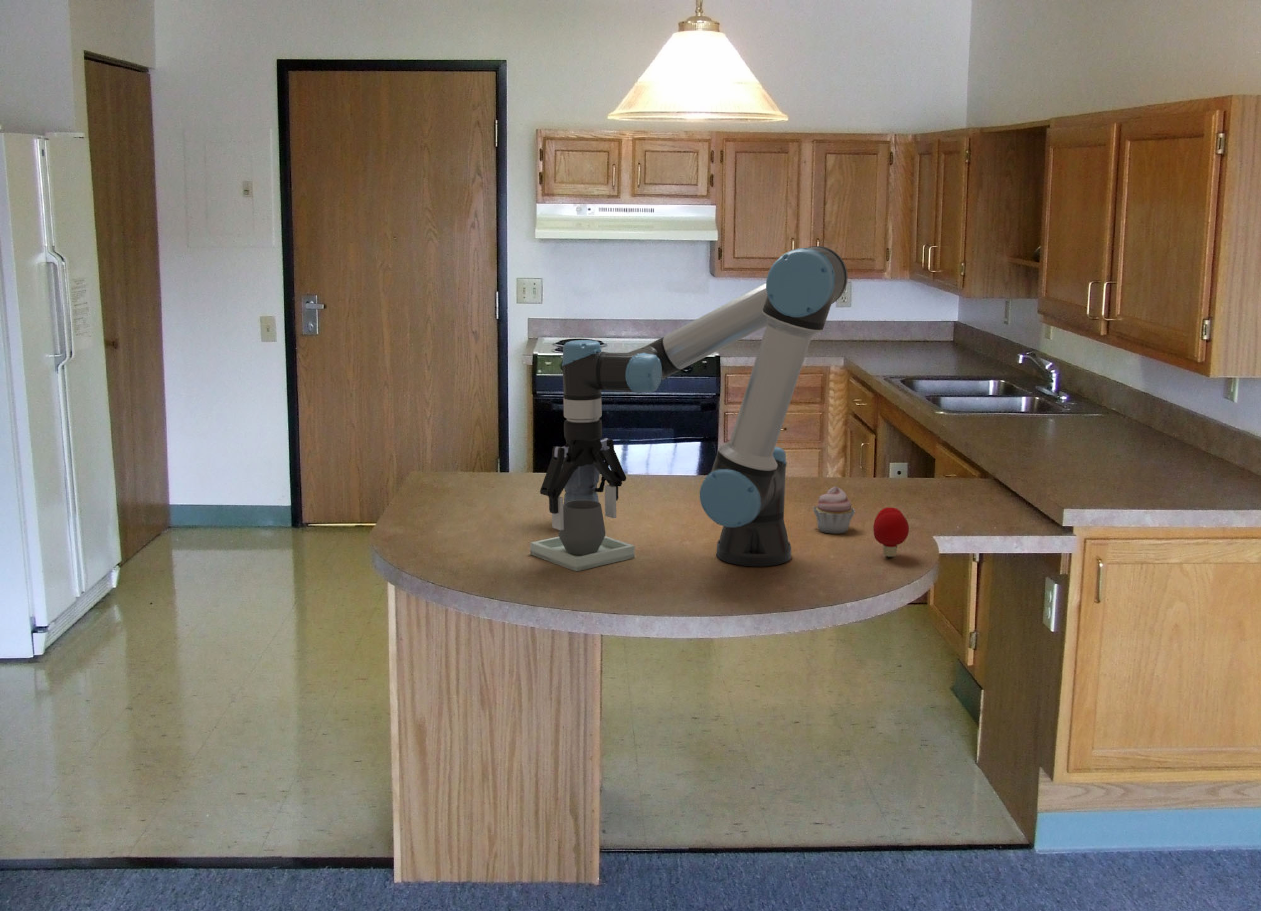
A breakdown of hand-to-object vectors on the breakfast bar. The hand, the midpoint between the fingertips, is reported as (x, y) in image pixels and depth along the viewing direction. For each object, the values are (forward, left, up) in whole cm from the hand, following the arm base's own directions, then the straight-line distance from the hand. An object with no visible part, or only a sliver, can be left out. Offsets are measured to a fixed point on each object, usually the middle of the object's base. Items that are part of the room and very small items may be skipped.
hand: (584, 522), depth 265 cm
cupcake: (-19, -55, -7) cm, 58 cm away
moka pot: (+17, -14, -7) cm, 23 cm away
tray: (0, 0, -7) cm, 7 cm away
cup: (+1, 0, -6) cm, 6 cm away
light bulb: (-40, -48, -7) cm, 62 cm away
